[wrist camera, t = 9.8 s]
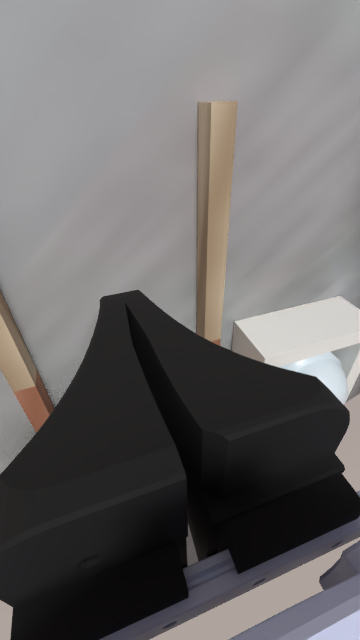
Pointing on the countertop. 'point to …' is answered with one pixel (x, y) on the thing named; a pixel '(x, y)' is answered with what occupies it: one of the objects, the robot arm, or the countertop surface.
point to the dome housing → (303, 335)
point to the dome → (324, 372)
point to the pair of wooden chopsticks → (212, 237)
